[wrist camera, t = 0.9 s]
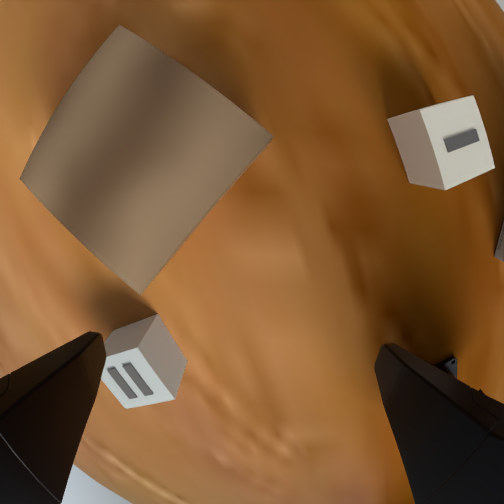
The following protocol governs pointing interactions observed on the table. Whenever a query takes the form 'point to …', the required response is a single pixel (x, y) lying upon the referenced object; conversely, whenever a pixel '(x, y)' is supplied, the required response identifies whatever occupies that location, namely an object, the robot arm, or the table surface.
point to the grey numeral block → (143, 363)
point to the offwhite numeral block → (443, 143)
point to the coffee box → (500, 246)
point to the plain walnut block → (139, 156)
